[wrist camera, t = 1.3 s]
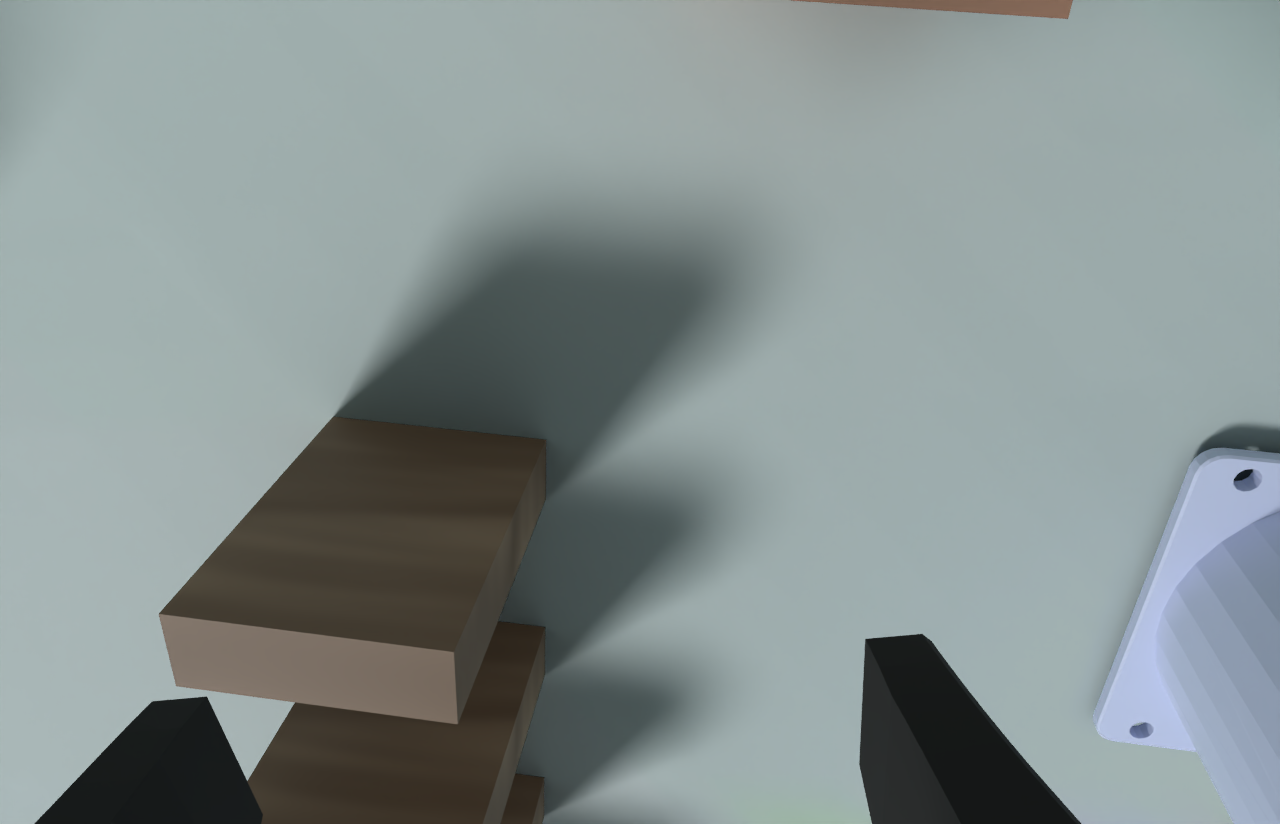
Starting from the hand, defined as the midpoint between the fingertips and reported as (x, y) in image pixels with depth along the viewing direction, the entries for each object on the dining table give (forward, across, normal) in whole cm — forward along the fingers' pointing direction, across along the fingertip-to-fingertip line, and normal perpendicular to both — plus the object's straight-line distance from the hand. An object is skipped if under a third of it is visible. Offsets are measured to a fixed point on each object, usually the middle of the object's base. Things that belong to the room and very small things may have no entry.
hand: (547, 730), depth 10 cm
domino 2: (+11, +4, +9) cm, 15 cm away
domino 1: (+11, +4, +4) cm, 12 cm away
